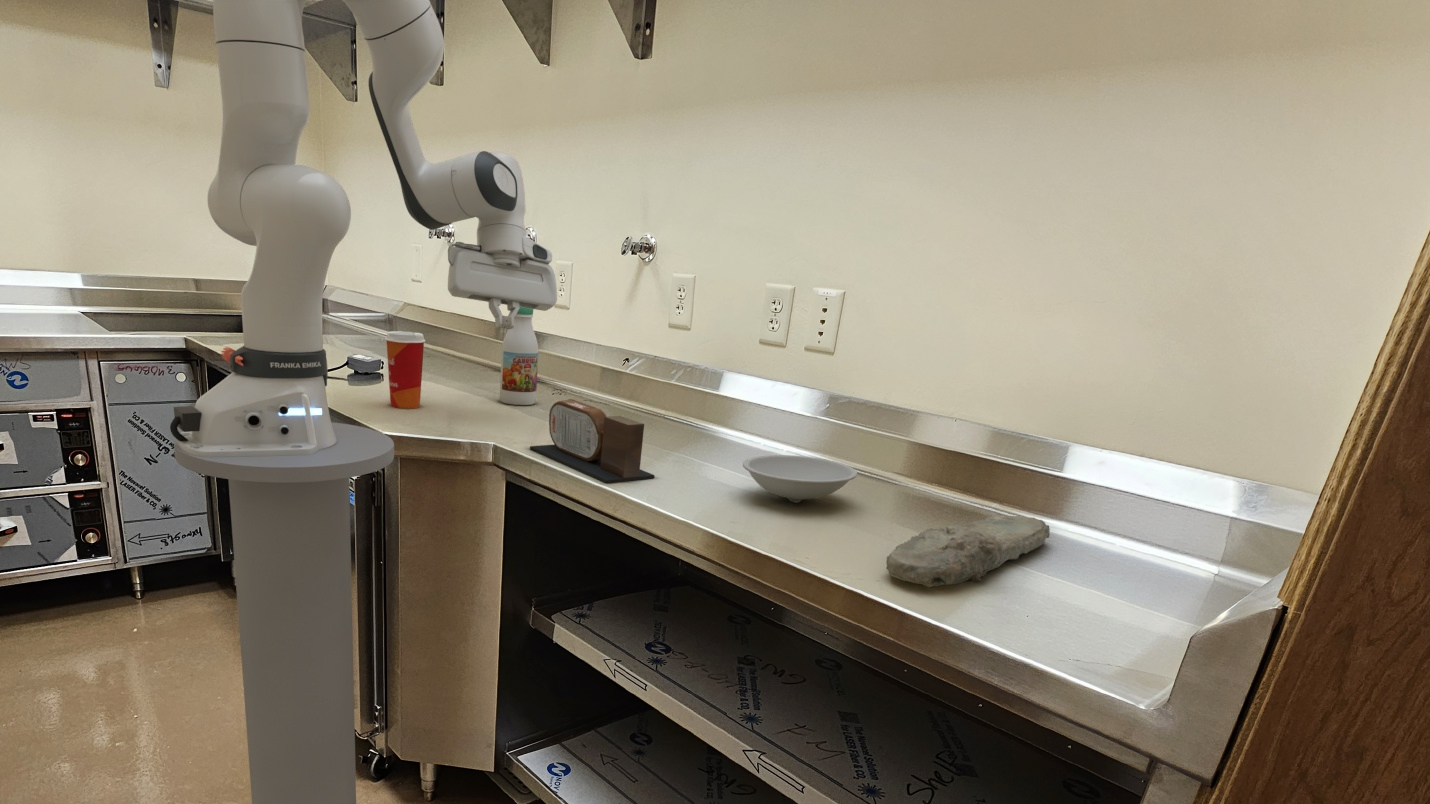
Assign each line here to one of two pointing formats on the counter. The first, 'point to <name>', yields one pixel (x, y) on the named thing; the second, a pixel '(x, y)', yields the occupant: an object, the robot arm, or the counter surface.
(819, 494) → the dish
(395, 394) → the paper cup
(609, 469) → the brown rectangular block
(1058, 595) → the counter surface
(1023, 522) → the long grey stone
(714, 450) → the counter surface
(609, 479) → the mat
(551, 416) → the tin
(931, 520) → the counter surface
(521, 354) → the milk bottle
